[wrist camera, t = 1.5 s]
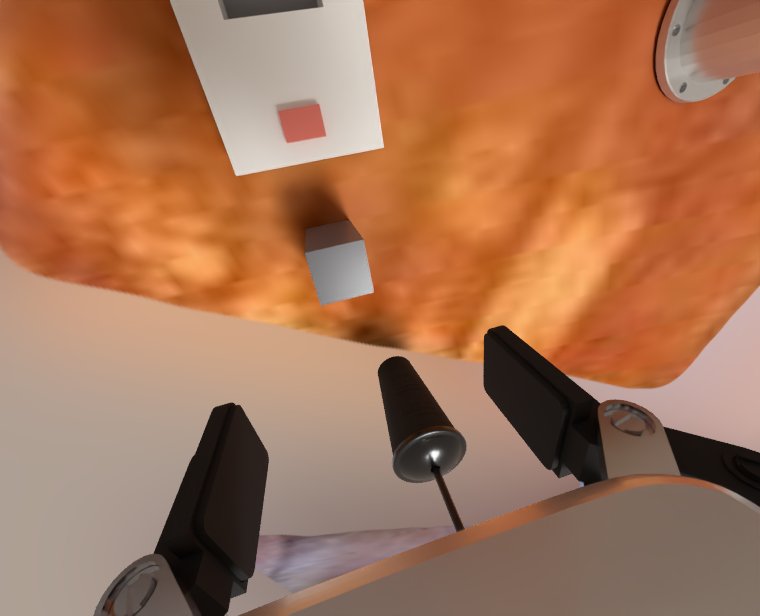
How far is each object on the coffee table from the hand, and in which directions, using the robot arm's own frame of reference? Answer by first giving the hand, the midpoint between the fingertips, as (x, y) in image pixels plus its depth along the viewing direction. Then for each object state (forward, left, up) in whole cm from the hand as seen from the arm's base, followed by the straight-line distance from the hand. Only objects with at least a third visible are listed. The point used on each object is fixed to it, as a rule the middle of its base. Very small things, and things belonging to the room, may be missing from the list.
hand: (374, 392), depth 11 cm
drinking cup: (-4, +19, -23) cm, 30 cm away
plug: (0, 0, -22) cm, 22 cm away
